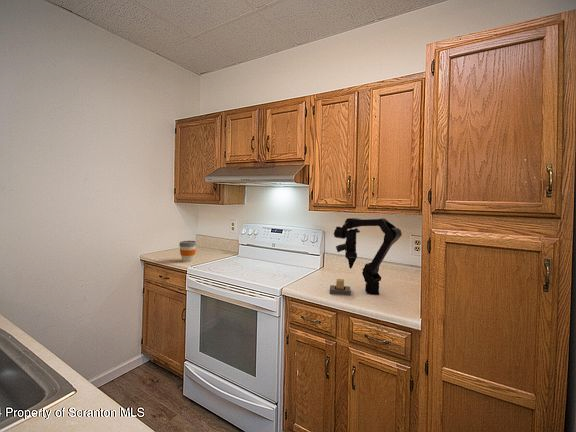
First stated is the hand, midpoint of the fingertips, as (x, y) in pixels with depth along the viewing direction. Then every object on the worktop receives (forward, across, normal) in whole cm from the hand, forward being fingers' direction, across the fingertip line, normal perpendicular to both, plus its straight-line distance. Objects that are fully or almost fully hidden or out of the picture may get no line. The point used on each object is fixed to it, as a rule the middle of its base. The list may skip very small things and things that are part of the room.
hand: (350, 266), depth 167 cm
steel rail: (+12, +12, -6) cm, 18 cm away
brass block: (+12, +12, -6) cm, 18 cm away
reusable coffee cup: (+12, -37, -124) cm, 130 cm away
